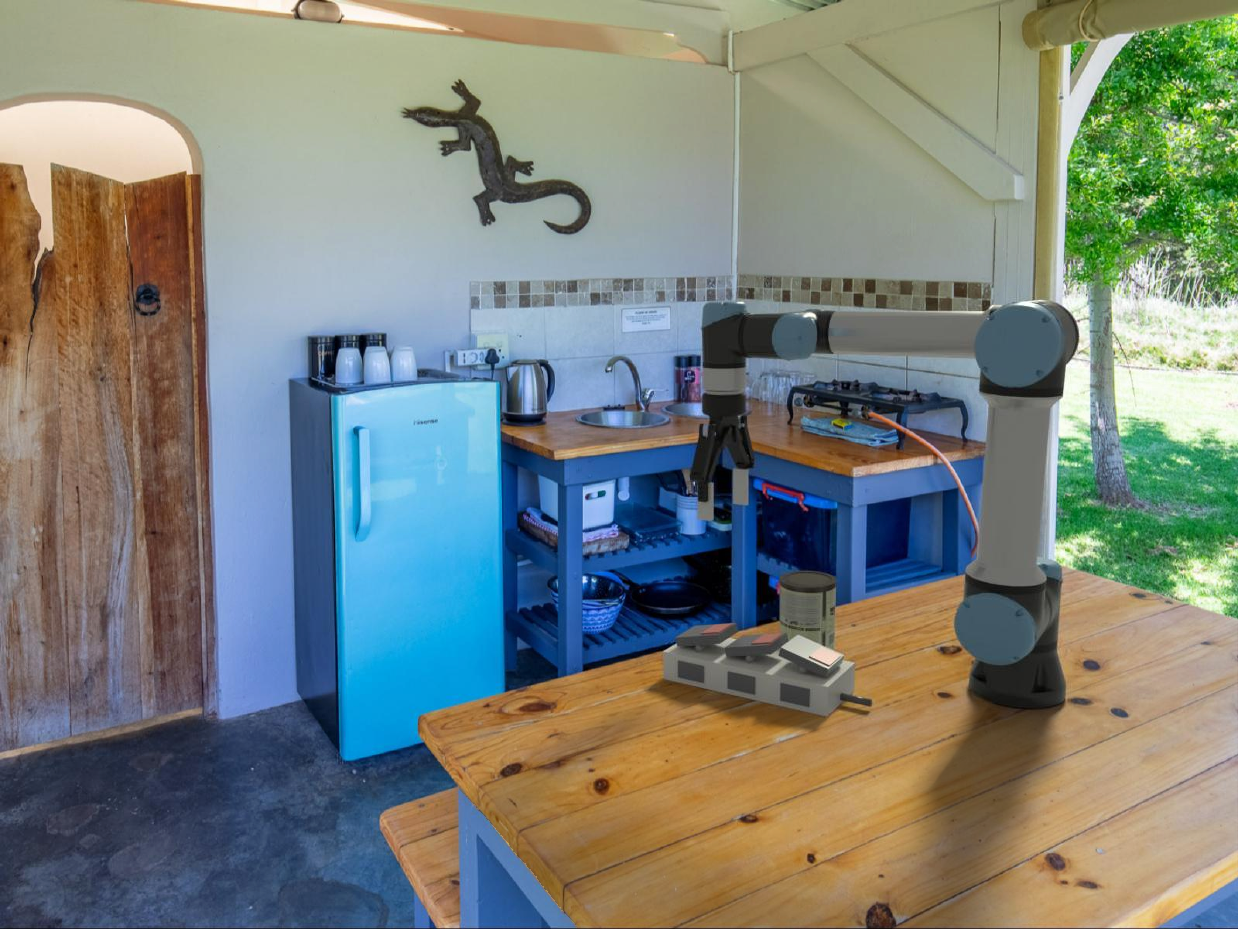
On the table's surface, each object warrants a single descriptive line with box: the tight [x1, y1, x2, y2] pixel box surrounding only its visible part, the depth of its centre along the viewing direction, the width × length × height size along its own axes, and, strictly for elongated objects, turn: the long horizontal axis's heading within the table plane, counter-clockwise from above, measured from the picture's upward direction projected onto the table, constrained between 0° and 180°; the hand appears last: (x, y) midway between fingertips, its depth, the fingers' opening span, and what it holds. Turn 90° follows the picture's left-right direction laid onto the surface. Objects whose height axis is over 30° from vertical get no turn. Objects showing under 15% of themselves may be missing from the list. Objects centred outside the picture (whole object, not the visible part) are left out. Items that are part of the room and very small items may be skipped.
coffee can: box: [779, 570, 838, 651], centre depth 193 cm, size 10×10×14 cm
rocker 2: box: [724, 632, 789, 657], centre depth 178 cm, size 8×7×2 cm
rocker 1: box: [674, 622, 739, 647], centre depth 183 cm, size 8×7×2 cm
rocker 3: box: [778, 635, 845, 678], centre depth 173 cm, size 8×7×2 cm
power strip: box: [662, 637, 873, 717], centre depth 178 cm, size 35×12×6 cm, turn 57°
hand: (723, 512), depth 186 cm, fingers open, 13 cm apart
